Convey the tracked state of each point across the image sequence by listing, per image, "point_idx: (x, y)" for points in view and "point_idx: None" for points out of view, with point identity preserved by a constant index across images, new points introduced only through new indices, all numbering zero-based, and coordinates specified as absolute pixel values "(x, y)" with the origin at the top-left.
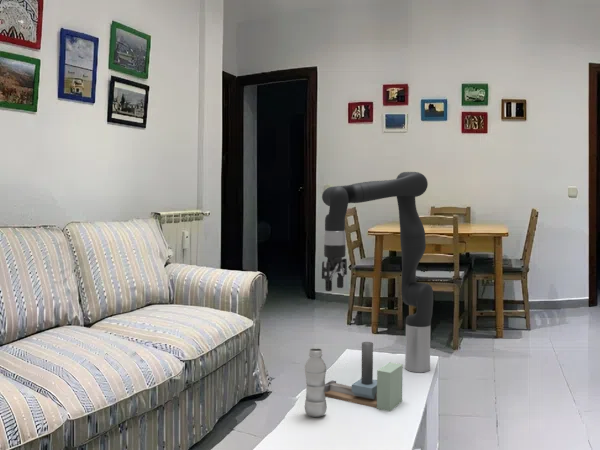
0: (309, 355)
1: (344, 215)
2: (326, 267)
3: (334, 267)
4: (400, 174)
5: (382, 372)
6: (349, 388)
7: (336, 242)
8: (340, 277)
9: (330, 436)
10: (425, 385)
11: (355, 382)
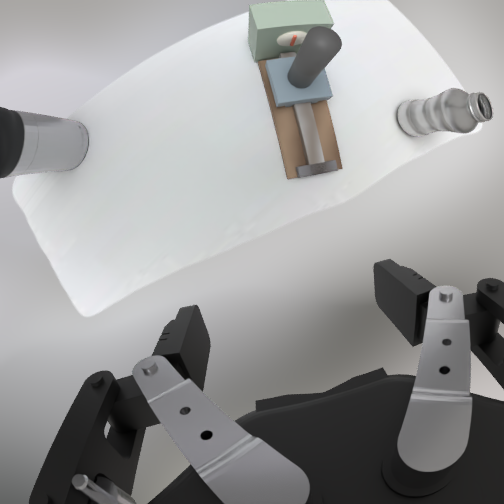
0: (485, 117)
1: None
2: None
3: (467, 391)
4: None
5: (329, 14)
6: (313, 116)
7: None
8: (184, 374)
9: (432, 68)
10: (138, 67)
11: (317, 96)
